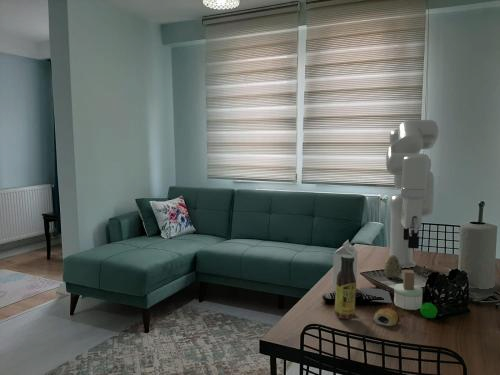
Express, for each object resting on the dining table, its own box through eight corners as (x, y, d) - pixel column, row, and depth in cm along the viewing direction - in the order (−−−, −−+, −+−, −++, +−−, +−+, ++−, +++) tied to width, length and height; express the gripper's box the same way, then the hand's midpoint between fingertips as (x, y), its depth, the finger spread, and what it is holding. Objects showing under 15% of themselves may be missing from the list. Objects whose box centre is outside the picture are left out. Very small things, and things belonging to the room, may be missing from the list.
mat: (360, 289, 153) (360, 287, 153) (388, 291, 151) (388, 289, 151) (361, 302, 142) (362, 300, 142) (392, 304, 140) (392, 302, 140)
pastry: (380, 312, 134) (381, 301, 134) (402, 317, 131) (402, 306, 130) (371, 323, 127) (372, 311, 126) (394, 329, 123) (394, 317, 122)
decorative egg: (385, 275, 167) (386, 252, 166) (400, 278, 164) (402, 254, 163) (383, 280, 162) (384, 256, 161) (398, 283, 159) (400, 258, 158)
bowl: (393, 299, 143) (393, 286, 143) (418, 301, 142) (419, 288, 141) (396, 310, 135) (396, 295, 135) (423, 312, 134) (423, 297, 133)
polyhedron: (420, 320, 128) (421, 305, 128) (419, 313, 133) (419, 299, 132) (437, 322, 127) (438, 307, 126) (435, 315, 131) (436, 301, 131)
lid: (392, 285, 143) (393, 266, 142) (419, 287, 141) (420, 267, 140) (395, 295, 135) (396, 274, 134) (424, 298, 133) (426, 276, 132)
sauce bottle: (343, 322, 127) (345, 260, 124) (330, 314, 133) (332, 255, 130) (359, 317, 130) (361, 257, 127) (346, 310, 136) (347, 252, 133)
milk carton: (332, 293, 150) (333, 242, 147) (337, 286, 156) (339, 238, 153) (351, 296, 147) (353, 245, 144) (356, 289, 153) (357, 240, 150)
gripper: (397, 189, 142) (395, 236, 145) (405, 197, 126) (402, 251, 128) (420, 189, 141) (417, 237, 143) (431, 198, 124) (428, 252, 127)
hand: (410, 243), depth 136 cm, fingers open, 9 cm apart
